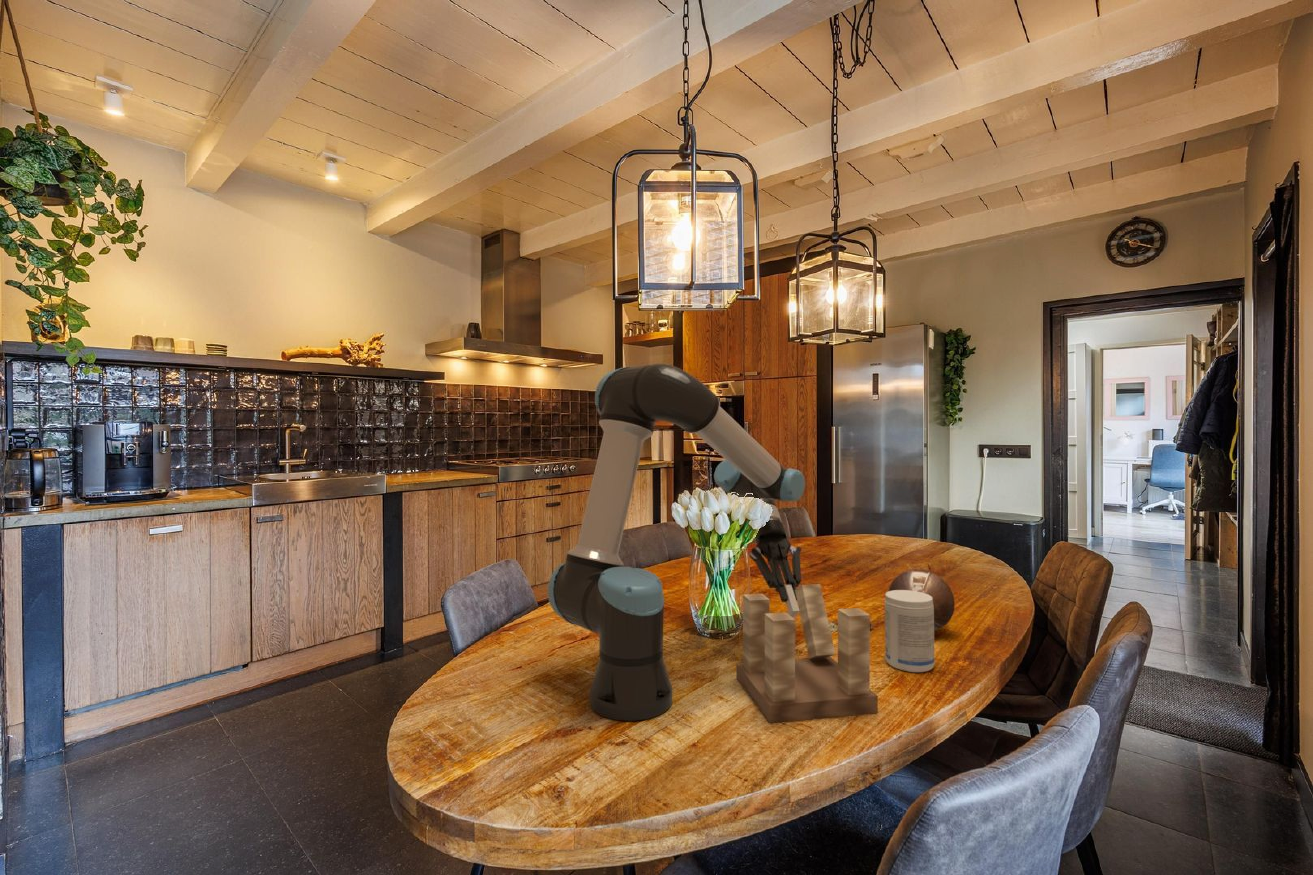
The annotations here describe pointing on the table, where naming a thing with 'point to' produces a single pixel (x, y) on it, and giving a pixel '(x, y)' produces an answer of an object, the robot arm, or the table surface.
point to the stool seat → (804, 667)
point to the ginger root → (834, 625)
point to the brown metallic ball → (928, 592)
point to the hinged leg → (814, 621)
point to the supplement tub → (909, 630)
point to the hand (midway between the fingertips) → (794, 613)
